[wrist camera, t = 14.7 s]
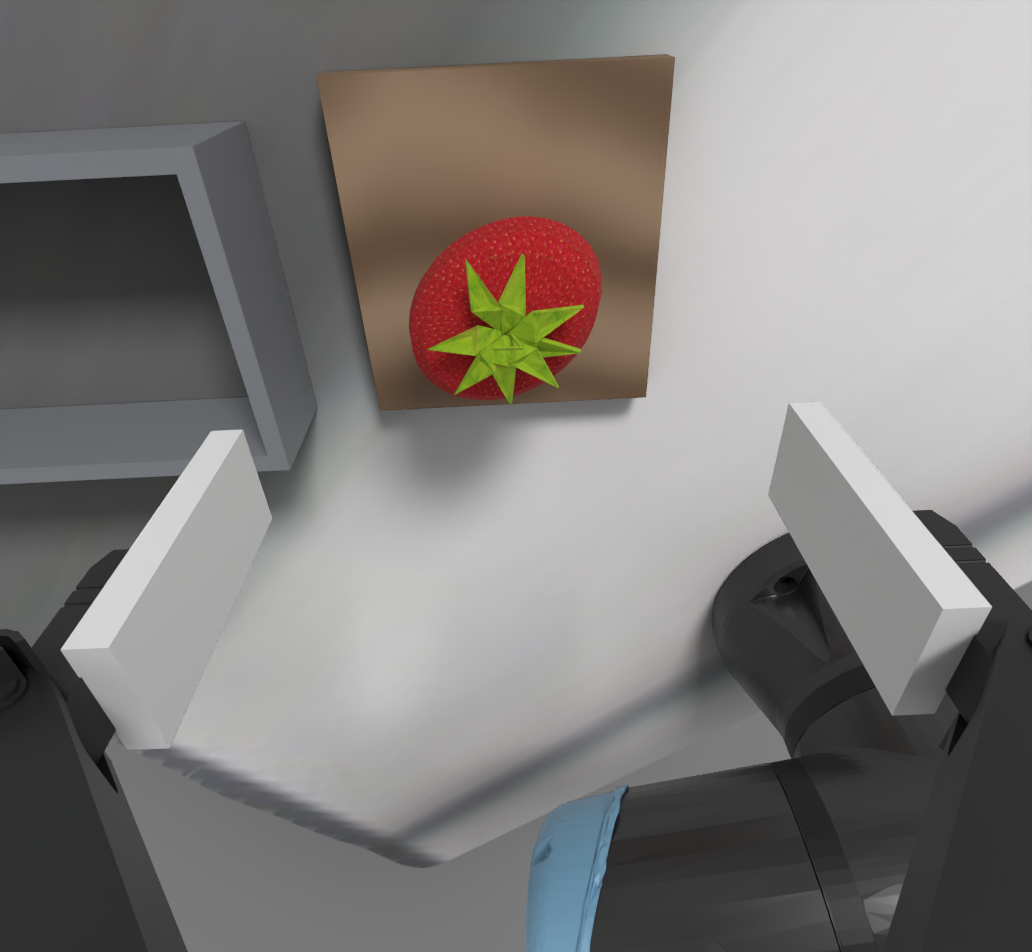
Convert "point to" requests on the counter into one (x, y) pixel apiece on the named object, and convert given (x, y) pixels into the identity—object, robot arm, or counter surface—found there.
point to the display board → (503, 196)
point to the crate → (239, 291)
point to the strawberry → (505, 308)
